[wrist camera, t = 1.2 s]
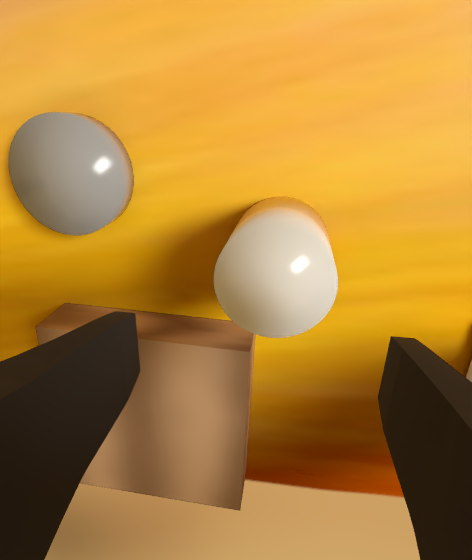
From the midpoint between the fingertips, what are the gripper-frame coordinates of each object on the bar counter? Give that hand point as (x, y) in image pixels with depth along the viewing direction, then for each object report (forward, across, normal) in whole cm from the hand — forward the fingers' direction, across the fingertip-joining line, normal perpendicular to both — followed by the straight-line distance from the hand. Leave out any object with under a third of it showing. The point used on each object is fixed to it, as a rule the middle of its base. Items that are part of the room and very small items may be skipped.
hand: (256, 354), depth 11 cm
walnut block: (+11, +7, +11) cm, 17 cm away
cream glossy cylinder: (+11, 0, 0) cm, 11 cm away
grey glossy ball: (+11, +11, -3) cm, 16 cm away
